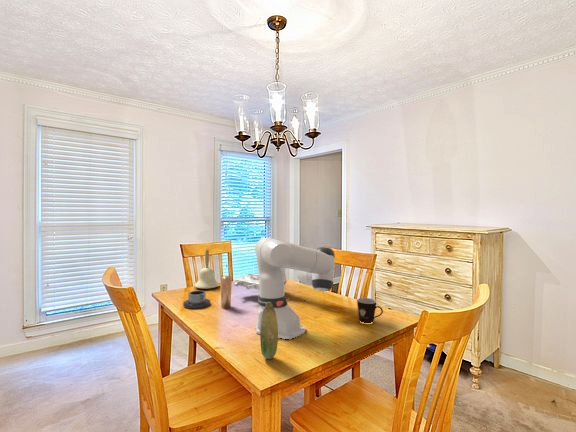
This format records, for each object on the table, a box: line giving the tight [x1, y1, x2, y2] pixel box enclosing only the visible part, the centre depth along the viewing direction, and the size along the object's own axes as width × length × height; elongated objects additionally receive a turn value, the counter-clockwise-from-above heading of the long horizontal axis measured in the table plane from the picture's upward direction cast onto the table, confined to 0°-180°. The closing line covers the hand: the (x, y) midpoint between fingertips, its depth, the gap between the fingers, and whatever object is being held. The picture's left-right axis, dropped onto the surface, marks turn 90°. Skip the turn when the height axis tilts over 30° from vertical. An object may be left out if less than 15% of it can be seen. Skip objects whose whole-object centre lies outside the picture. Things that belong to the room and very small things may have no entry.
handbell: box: [194, 248, 220, 289], centre depth 203 cm, size 15×15×25 cm
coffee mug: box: [356, 297, 384, 323], centre depth 144 cm, size 12×9×10 cm
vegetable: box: [259, 302, 279, 360], centre depth 109 cm, size 6×6×20 cm
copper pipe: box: [220, 275, 232, 310], centre depth 164 cm, size 5×5×16 cm
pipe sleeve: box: [182, 290, 211, 310], centre depth 168 cm, size 14×14×6 cm
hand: (241, 286), depth 173 cm, fingers open, 8 cm apart
